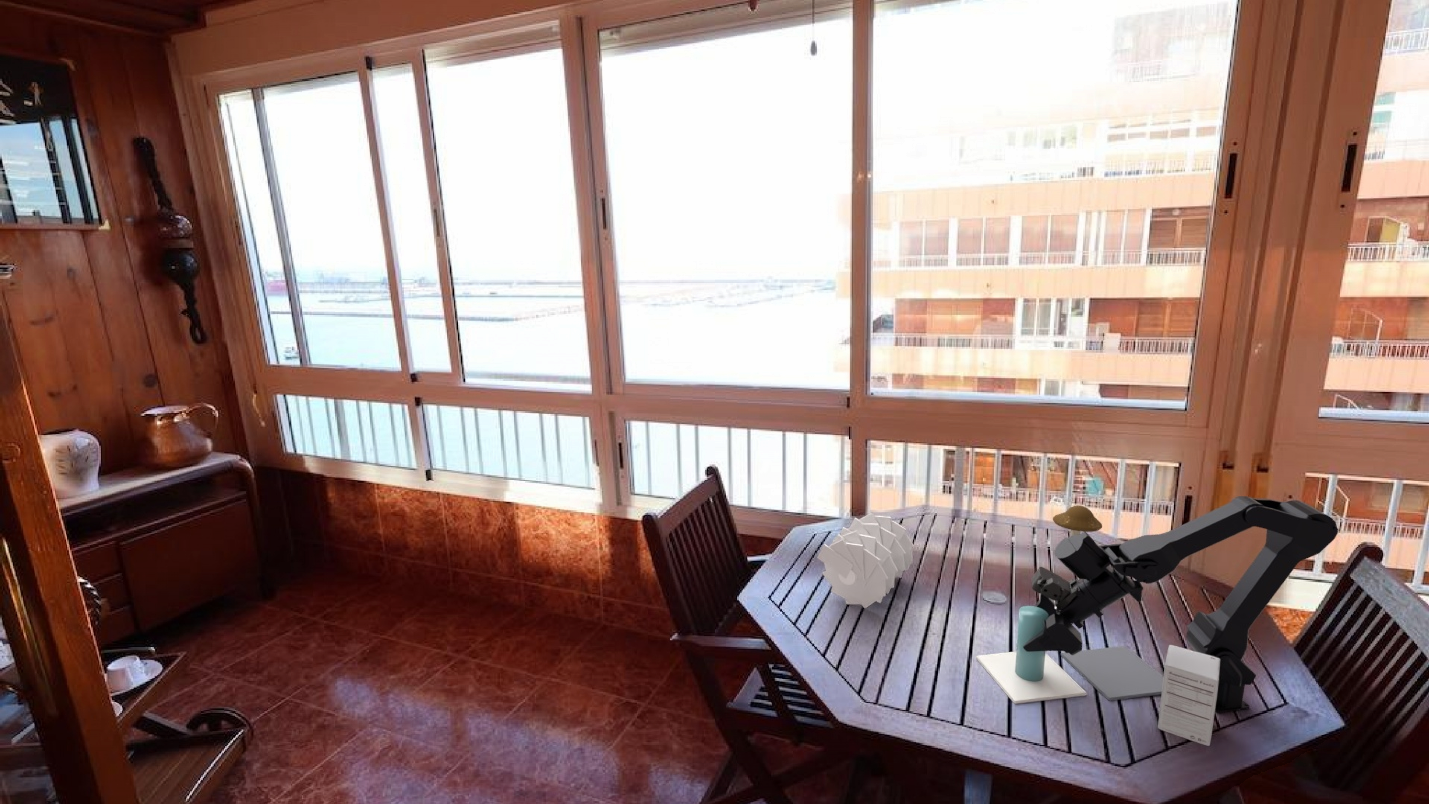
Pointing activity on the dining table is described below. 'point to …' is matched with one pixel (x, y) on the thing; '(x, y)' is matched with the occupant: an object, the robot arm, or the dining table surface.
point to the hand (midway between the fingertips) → (1024, 636)
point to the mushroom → (1078, 520)
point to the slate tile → (1116, 672)
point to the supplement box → (1189, 694)
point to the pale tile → (1022, 690)
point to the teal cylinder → (1028, 626)
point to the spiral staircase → (867, 559)
